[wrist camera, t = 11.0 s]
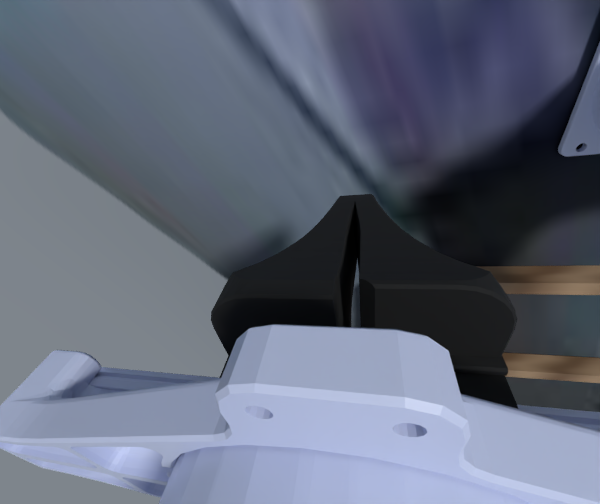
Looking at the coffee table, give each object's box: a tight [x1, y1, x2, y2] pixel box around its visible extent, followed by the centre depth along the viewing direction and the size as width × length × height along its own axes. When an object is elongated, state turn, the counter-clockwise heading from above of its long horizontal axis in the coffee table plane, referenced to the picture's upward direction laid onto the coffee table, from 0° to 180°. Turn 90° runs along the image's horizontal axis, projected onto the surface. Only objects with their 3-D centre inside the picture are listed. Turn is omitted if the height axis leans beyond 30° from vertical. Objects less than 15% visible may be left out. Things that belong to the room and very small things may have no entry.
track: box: [476, 266, 600, 383], centre depth 26 cm, size 22×13×4 cm, turn 99°
